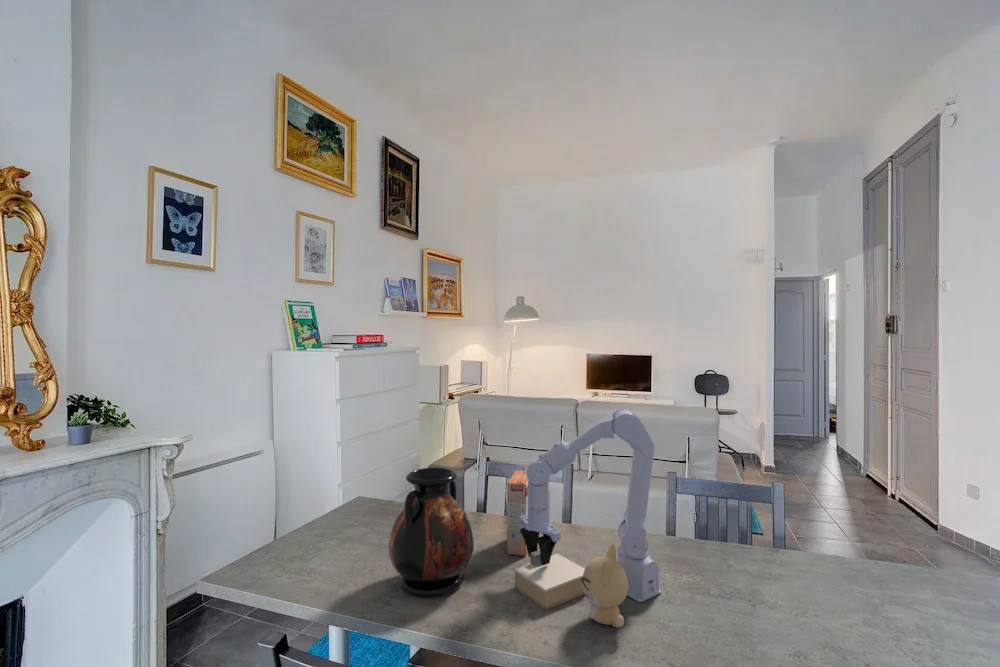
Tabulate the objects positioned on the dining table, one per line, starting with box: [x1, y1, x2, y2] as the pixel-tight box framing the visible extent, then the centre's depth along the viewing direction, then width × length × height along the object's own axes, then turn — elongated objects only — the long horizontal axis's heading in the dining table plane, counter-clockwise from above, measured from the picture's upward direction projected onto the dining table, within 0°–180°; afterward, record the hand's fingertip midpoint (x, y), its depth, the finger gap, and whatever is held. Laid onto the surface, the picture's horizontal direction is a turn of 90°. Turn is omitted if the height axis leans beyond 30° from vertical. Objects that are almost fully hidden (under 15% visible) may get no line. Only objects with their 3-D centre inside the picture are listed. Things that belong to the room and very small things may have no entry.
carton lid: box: [512, 549, 585, 592], centre depth 120 cm, size 13×15×3 cm
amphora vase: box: [387, 467, 475, 599], centre depth 124 cm, size 22×22×28 cm
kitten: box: [581, 543, 628, 628], centre depth 108 cm, size 15×10×15 cm, turn 159°
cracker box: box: [506, 470, 528, 557], centre depth 146 cm, size 14×6×21 cm, turn 168°
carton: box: [514, 572, 585, 611], centre depth 120 cm, size 12×14×4 cm
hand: (539, 559), depth 124 cm, fingers open, 5 cm apart
